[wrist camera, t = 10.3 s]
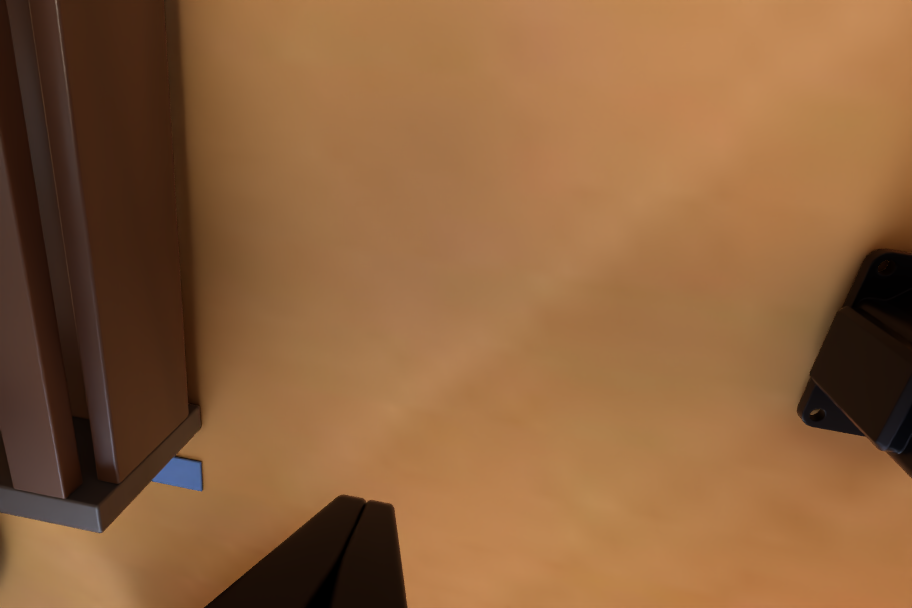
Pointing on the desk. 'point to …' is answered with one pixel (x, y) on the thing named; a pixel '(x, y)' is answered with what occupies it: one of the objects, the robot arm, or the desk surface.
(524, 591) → the desk surface
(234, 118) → the desk surface
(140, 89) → the rack
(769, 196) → the desk surface
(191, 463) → the tape marks
